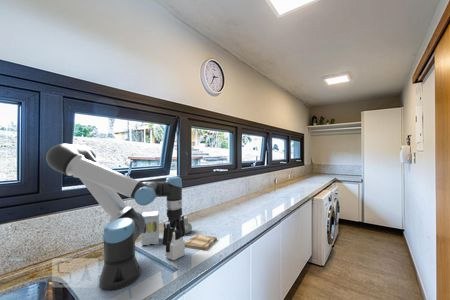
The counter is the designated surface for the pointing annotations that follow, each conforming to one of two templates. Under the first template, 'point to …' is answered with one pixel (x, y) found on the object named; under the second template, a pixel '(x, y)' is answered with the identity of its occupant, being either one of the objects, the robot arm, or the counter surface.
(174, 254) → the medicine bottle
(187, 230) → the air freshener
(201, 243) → the trivet
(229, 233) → the counter surface
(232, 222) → the counter surface
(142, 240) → the supplement box
